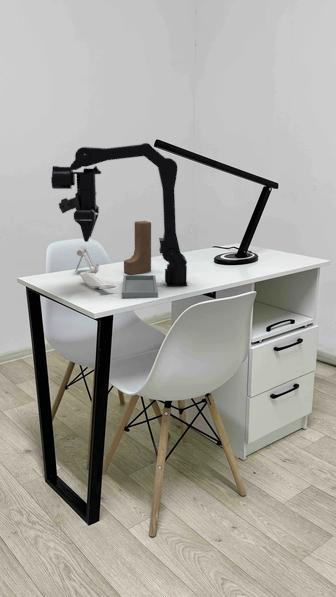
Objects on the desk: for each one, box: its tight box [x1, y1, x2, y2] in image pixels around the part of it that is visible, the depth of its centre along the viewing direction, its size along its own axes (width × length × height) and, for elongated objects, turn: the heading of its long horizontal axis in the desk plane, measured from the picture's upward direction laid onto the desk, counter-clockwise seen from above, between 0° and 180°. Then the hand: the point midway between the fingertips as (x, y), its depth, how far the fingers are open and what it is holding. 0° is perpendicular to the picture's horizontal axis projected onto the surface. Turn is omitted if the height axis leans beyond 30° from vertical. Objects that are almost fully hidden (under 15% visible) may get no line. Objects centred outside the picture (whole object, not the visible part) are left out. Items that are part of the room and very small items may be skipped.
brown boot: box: [123, 220, 152, 275], centre depth 198 cm, size 9×4×18 cm, turn 123°
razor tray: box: [121, 274, 159, 300], centre depth 176 cm, size 11×23×2 cm, turn 3°
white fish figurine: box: [79, 271, 116, 290], centre depth 177 cm, size 6×18×4 cm, turn 32°
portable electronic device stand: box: [75, 245, 100, 274], centre depth 201 cm, size 9×8×8 cm
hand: (87, 239), depth 176 cm, fingers open, 9 cm apart
